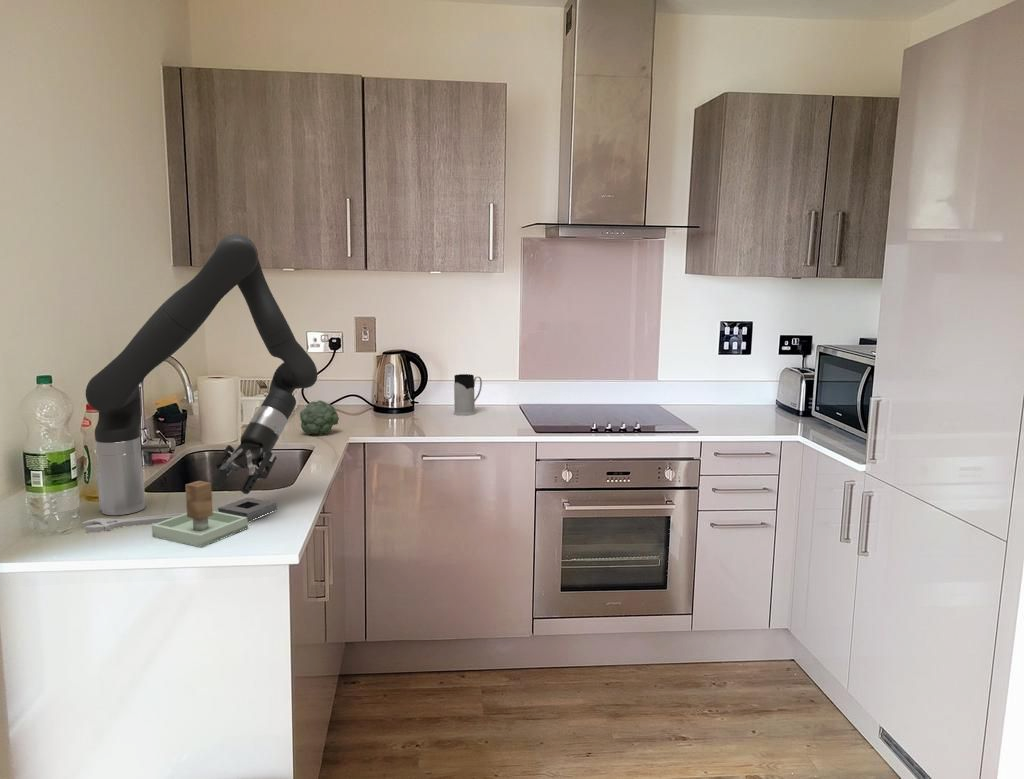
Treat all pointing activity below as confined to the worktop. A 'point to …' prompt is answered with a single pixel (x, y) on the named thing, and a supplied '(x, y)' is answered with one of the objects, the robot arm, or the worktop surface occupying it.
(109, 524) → the adjustable wrench
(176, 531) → the tray
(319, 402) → the vegetable
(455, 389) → the grey black mug
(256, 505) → the socket block
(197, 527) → the wooden square peg
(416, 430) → the worktop surface
